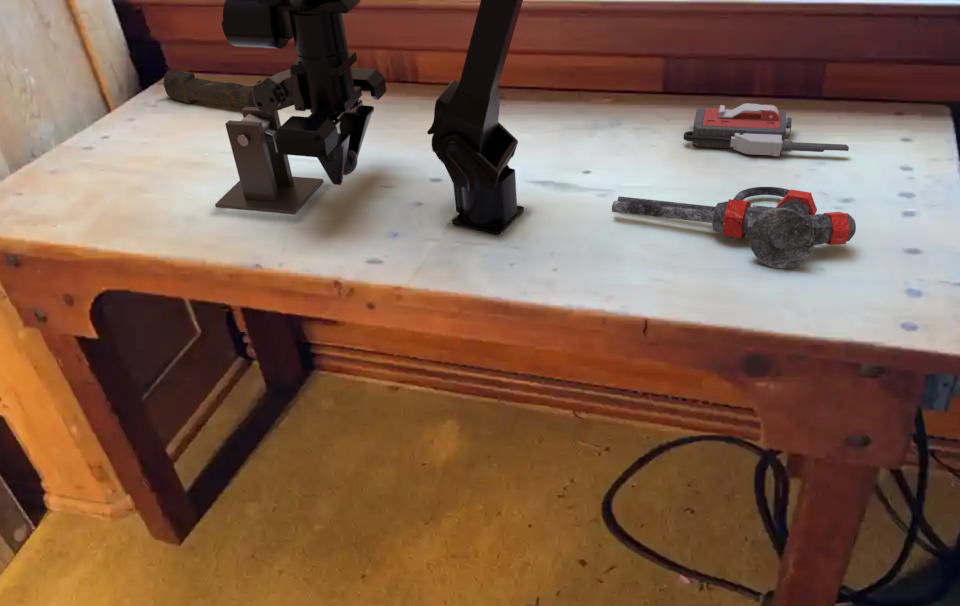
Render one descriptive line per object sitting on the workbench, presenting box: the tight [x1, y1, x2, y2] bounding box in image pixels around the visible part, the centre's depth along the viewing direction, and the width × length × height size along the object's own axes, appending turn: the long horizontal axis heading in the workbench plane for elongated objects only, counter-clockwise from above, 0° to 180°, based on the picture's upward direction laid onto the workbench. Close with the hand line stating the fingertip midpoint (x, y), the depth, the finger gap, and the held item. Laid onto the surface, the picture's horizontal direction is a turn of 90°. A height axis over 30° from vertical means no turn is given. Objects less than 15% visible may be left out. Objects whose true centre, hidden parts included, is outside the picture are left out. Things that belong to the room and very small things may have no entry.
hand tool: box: [162, 70, 256, 110], centre depth 140 cm, size 19×4×5 cm, turn 61°
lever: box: [240, 114, 359, 176], centre depth 108 cm, size 15×4×4 cm, turn 73°
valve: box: [611, 186, 857, 269], centre depth 100 cm, size 6×26×15 cm
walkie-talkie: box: [683, 103, 850, 157], centre depth 115 cm, size 9×4×20 cm
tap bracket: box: [214, 107, 324, 215], centre depth 111 cm, size 11×8×11 cm
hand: (343, 176), depth 109 cm, fingers closed on lever, 3 cm apart
